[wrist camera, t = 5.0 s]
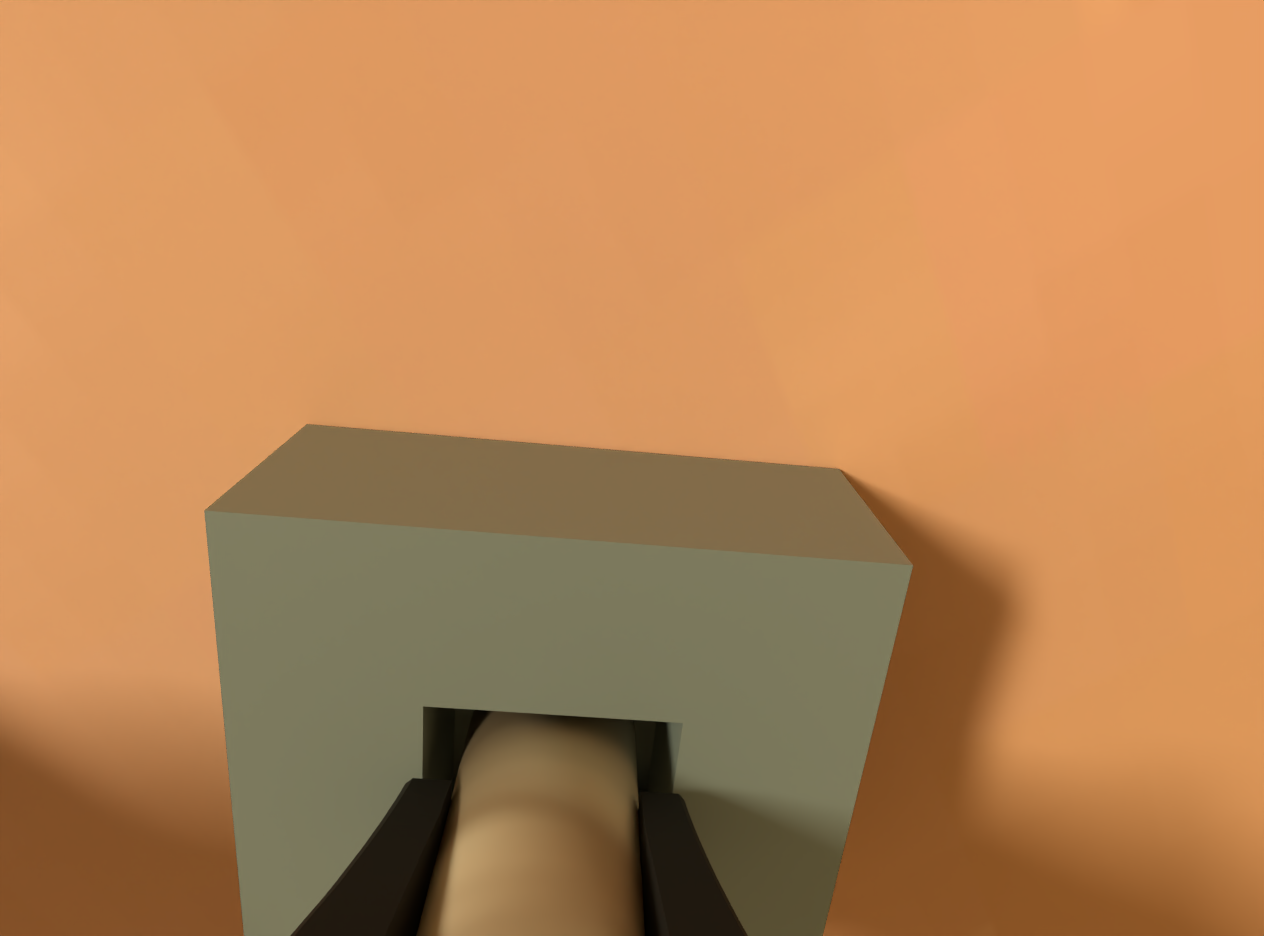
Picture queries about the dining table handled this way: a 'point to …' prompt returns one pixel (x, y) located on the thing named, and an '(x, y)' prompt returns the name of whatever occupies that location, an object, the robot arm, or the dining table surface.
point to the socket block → (547, 644)
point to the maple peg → (540, 831)
